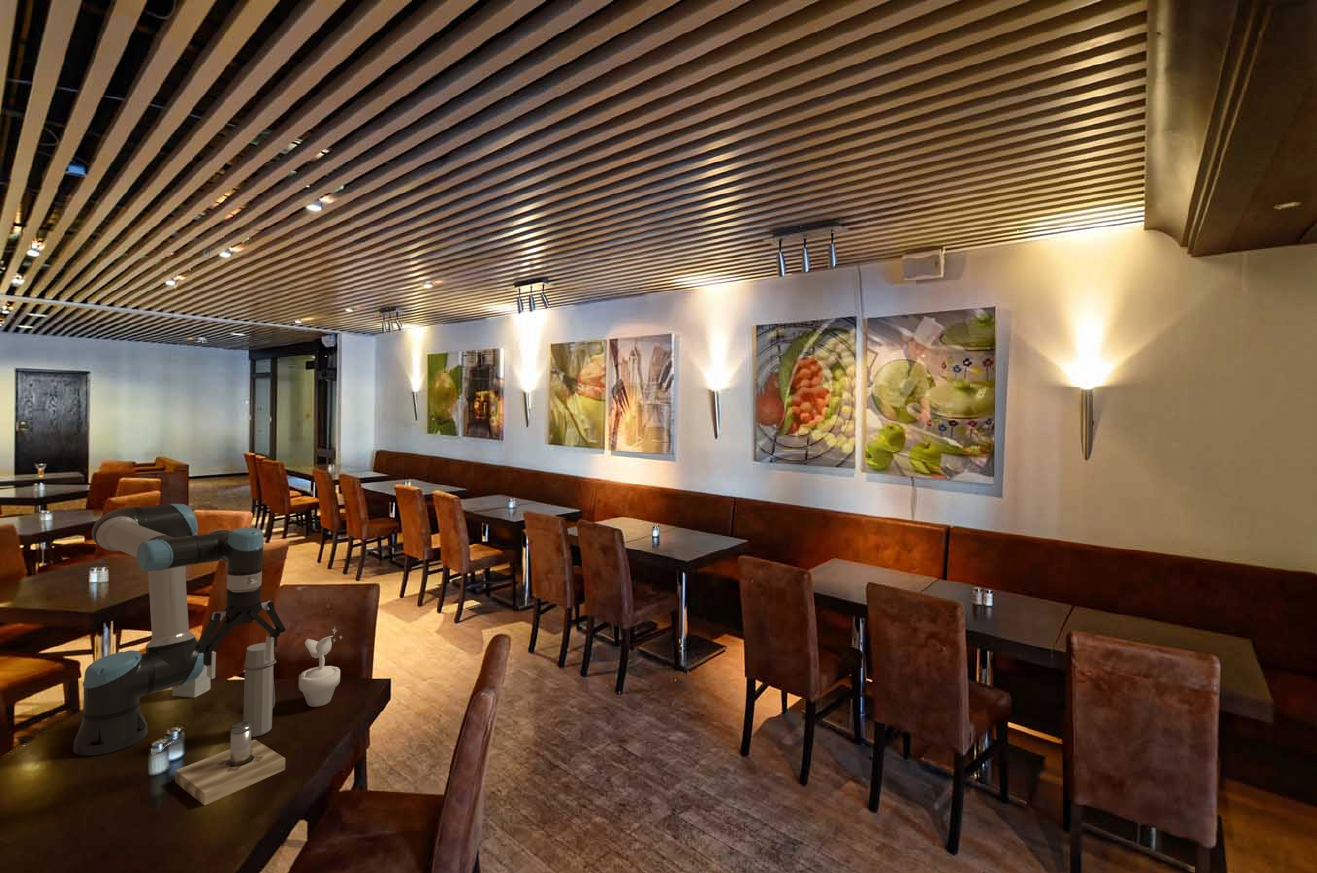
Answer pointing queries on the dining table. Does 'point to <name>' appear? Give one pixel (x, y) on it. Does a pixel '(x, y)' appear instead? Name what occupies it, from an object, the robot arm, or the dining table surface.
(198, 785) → the jig
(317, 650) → the potted plant
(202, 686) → the small box
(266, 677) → the water bottle
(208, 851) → the dining table surface
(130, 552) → the robot arm
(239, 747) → the grey metallic cylinder
